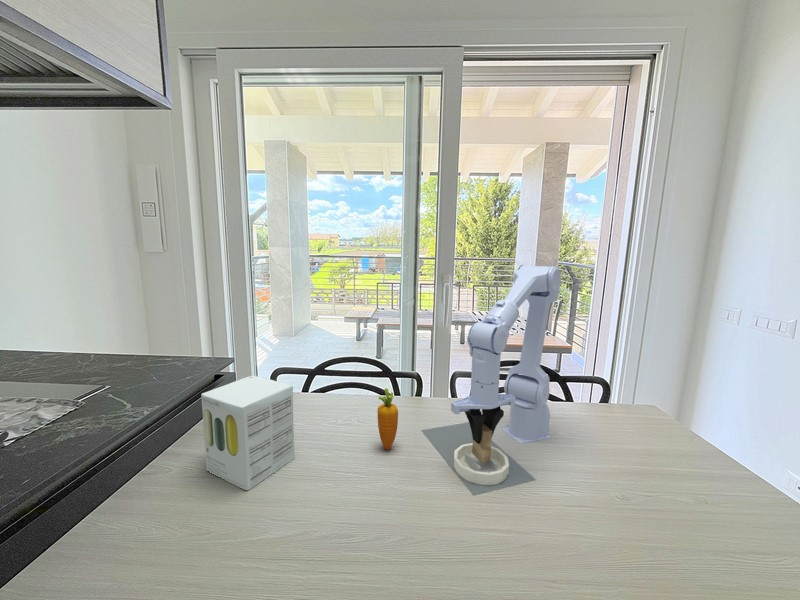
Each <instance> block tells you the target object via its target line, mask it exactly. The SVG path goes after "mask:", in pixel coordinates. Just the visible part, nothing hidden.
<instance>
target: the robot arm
mask: <svg viewBox="0 0 800 600" xmlns="http://www.w3.org/2000/svg"><path fill="white" fill-rule="evenodd" d="M512 280H513V281H512V282H513V284H512V285H511V287H510V289H509V290H508V292H507V294H506V296H505V297H504V299H499V300H497V301H496V302H494V304H493V305H492V307H491V308H490V309H489V311H488V312H487V313H486V315H485V316H484V318H483V319H482V320H481V321H478V322H476V323H473V324H472V325H471V326H470V328H469V330H468V335H467V336H466V341H467V345H468V347H469V356H470V357H471V375H470V380H471V381H470V395H469V396H465V397H463V398H461V399H458V400H455V401H454V400H453V401H451V403H450V411H451V412H452V413H453V414H454V415H460V413H464V414H465V416H466V418H467V420H468V422H469V424H470V427H471V431H472V437H473V440H474V441H475V442H476V443H477V444H479V443H480V442H481V438H482V428H483V424H485V425H486V426H487V427H488V428H489V429H491V430H492V437H493V435H494V433H495V430H496V428H497V425H498V424H499V423H500V421H501V420H502V418H503V417H504V415H505V411H504V410H503V409H502V408H501V407H503V406H510V410H509V411H510V413H509V426H504V427H503V426H502V428H501V430H503V431H504V432H505V433H506V434H507V435H509V436H511V438H513V439H514V440H515V441H517V442H518V443H519V444H526V443H527V444H528V443H532V442H535V441H540V440H546V439H551V438H552V437H551V435H549V432H550V418H551V414H550V413H551V412H550V411H551V410H550V407H549V406H548V404H547V402H548V400H549V396H550V376H549V375H548V374H547V373H546V372H545V370H543V368H542V367H541V361H542V356H543V350H544V343H545V338H546V332H547V326H548V318H549V315H550V314H549V313H550V309H551V304H552V303H554V302H557V301H558V297H559V296H560V295H559V294H560V289H561V283H562V282H561V281H562V276H561V271H560V269H559V267H558V266H556V265H554V266H553V265H552V266H546V265H545V266H543V265H540V266H539V265H524V264H519V265H517V267H516V268H515V270H514V271H513V275H512ZM526 300H527V302H528V305H529V306H528V310H527V311H528V312H527V317H526V322H525V329H524V334H523V342H522V346H521V347H522V348H521V353H520V359H519V363H518V364H515V365H514V366H512V367H510V368H509V370H508V374H507V376H506V379H505V381H504V385H503V386H504V387H503V390H504V393H499V391H500V390H499V389H500V374H501V373H500V372H501V369H500V368H501V354H502V352H504V350H505V349H506V347H507V344H508V339H509V337H510V330H511V328H513V325H514V324H515V323H516V321H517V320H518V318H519V317H520V310H519V309H520V308H521V306H522V304H523V303H525V301H526Z"/></svg>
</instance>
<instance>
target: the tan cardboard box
mask: <svg viewBox="0 0 800 600" xmlns="http://www.w3.org/2000/svg"><path fill="white" fill-rule="evenodd" d="M492 439H493V436H492V430H491V429H489V428H488V427H487V426H486V425H485V424H483V428H482V438H481V442H480V443H479V444H477V443H476V442H475V441H474V440H473V444H472V453H473V454H474V455H475V456H476V458H477V459H478V460H479V461H480V462H481V463H486V462H490V456H491V440H492ZM492 441H493V440H492Z"/></svg>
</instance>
